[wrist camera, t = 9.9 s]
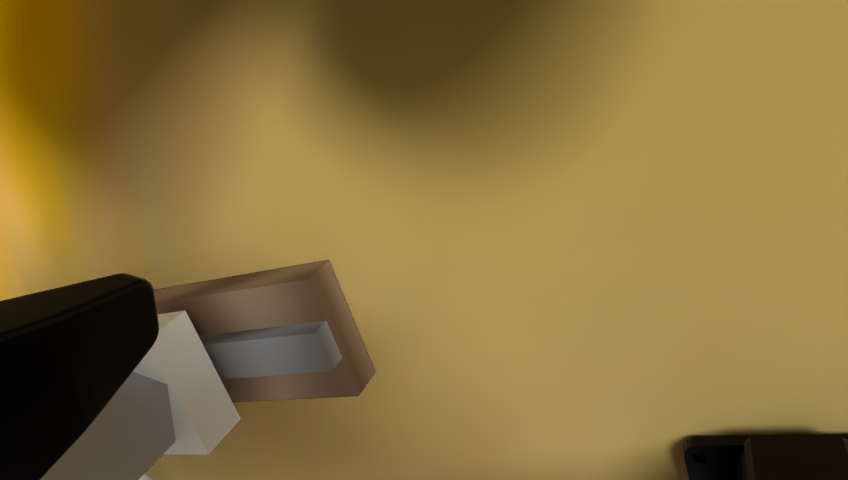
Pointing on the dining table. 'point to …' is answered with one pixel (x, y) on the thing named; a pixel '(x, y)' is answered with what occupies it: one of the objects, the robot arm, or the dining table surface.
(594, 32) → the dining table surface
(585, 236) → the dining table surface
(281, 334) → the rail bed
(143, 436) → the carriage
